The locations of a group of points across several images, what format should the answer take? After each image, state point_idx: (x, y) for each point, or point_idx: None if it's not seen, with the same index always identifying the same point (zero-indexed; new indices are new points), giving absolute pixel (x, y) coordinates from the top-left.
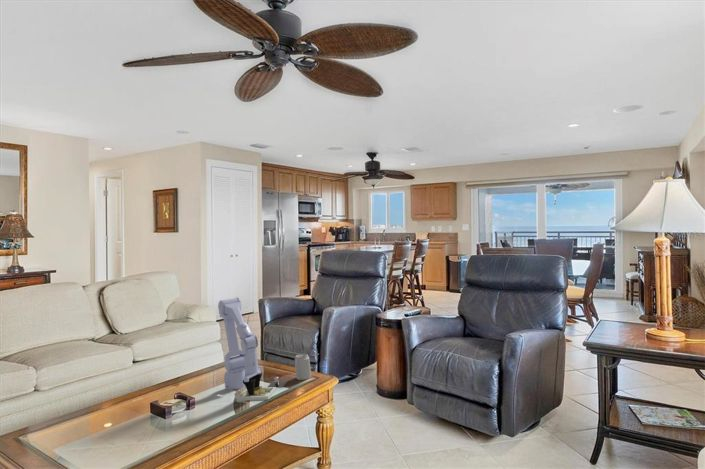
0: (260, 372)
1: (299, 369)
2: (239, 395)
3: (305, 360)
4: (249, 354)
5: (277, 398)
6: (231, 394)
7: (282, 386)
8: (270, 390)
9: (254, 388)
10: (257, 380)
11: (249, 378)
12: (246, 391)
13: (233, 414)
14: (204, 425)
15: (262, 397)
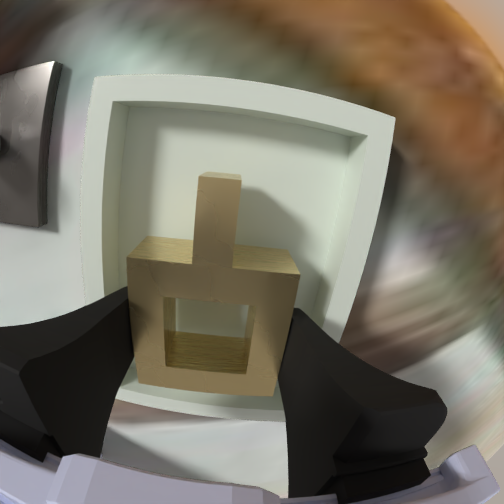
0: (142, 500)
1: None
2: (265, 415)
3: None
4: None
5: (319, 41)
6: (138, 436)
7: (36, 69)
8: (117, 146)
9: (165, 338)
10: (92, 359)
11: (383, 499)
12: (272, 394)
13: (478, 334)
14: (492, 393)
15: (378, 184)
